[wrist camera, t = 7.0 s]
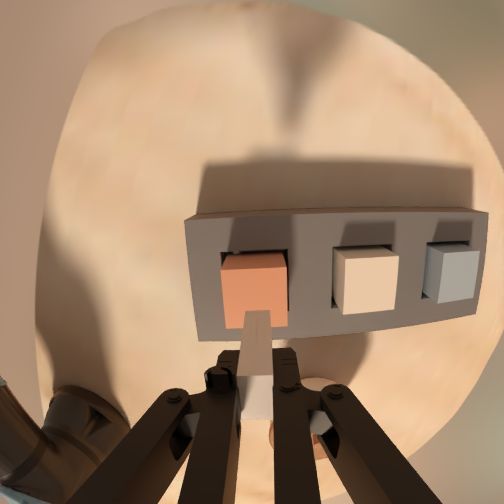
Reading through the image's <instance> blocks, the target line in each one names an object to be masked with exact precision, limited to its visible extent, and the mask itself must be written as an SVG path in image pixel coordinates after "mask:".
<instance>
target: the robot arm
mask: <svg viewBox="0 0 504 504" xmlns="http://www.w3.org/2000/svg"><path fill="white" fill-rule="evenodd" d="M204 377H205V383H206V388H207V389H206V391H204V392H202V393H198V394H193V395H189V394H188V392H187V391H186V390H183V389H180V388H173V389H169V390H166V391H164V392H163V393H162V394H161V395H160V396H159V397H158V398H157V400H156V401H155V402H154V403H153V404H152V405H151V407H150V408H149V409H148V410H147V411H146V412H145V414H144V415H143V416H142V417H141V418H140V419H139V421H138V422H137V423H136V424H135V425H134V426H133V428H132V429H131V430H130V429H129V426H128V424H127V423H126V421H125V420H124V418H123V417H122V416H121V415H120V414H119V412H118V411H117V410H116V409H115V408H113V407H112V406H111V405H110V404H109V403H107V402H106V401H105V400H103V399H102V398H100V397H99V396H97V395H96V394H94V393H92V392H90V391H88V390H85V389H83V388H79V387H75V386H64V387H62V388H60V389H59V390H58V391H57V392H56V393H55V394H54V395H53V397H52V398H51V400H50V403H49V409H48V411H47V414H46V418H45V421H44V425H43V427H42V428H41V429H40V428H39V426H38V425H37V424H36V423H35V422H34V420H33V419H32V418H31V417H30V416H29V415H28V413H27V412H26V411H25V410H24V408H23V407H22V406H21V404H20V403H19V402H18V400H17V399H16V397H15V396H14V395H13V393H12V392H11V390H10V389H9V387H8V386H7V385H6V384H7V382H6V381H5V380H3V379H2V377H1V376H0V495H1V496H2V497H3V498H4V499H5V500H6V501H7V502H9V503H10V504H158V502H159V501H160V499H161V498H162V496H163V495H164V493H165V492H166V490H167V488H168V487H169V485H170V484H171V482H172V481H173V479H174V477H175V476H176V474H177V473H178V471H179V469H180V468H181V466H182V465H183V463H184V461H185V460H186V458H187V456H188V455H189V453H190V455H189V459H188V463H187V467H186V471H185V476H184V480H183V484H182V488H181V492H180V496H179V500H178V504H234V503H235V492H236V481H237V470H238V459H239V448H240V436H241V422H240V420H273V437H274V497H275V504H321V499H320V492H319V485H318V478H317V471H316V464H315V457H314V451H313V444H312V437H311V433H312V434H316V435H317V438H318V440H319V442H320V444H321V445H322V447H323V449H324V451H325V453H326V455H327V456H328V458H329V460H330V462H331V464H332V465H333V467H334V469H335V471H336V472H337V474H338V476H339V478H340V480H341V481H342V483H343V485H344V487H345V488H346V490H347V492H348V494H349V495H350V497H351V499H352V501H353V502H354V504H442V503H441V501H440V500H439V499H438V498H437V496H436V495H435V494H434V493H433V492H432V491H431V489H430V488H429V487H428V485H427V484H426V483H425V482H424V481H423V479H422V478H421V477H420V476H419V475H418V473H417V472H416V471H415V469H414V468H413V467H412V466H411V465H410V463H409V462H408V461H407V460H406V458H405V457H404V456H403V455H402V453H401V452H400V451H399V450H398V449H397V447H396V446H395V445H394V444H393V442H392V441H391V440H390V439H389V437H388V436H387V435H386V434H385V432H384V431H383V430H382V429H381V427H380V426H379V425H378V424H377V422H376V421H375V420H374V419H373V417H372V416H371V415H370V414H369V412H368V411H367V410H366V409H365V407H364V406H363V405H362V404H361V402H360V401H359V400H358V399H357V397H356V396H355V395H354V394H353V392H352V391H351V390H350V389H349V388H348V387H347V386H344V385H341V384H331V385H328V386H325V387H324V388H323V389H322V390H321V391H314V390H310V389H308V388H306V387H304V386H303V385H302V383H301V381H300V375H299V369H298V364H297V358H296V352H295V351H294V350H293V349H292V348H272V338H271V317H270V310H259V311H245V317H244V325H243V332H242V339H241V347H240V350H224V351H223V352H222V353H221V354H220V355H219V356H218V360H217V364H216V366H214V367H211V368H209V369H208V370H206V372H205V373H204Z"/></svg>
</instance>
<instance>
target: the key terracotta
mask: <svg viewBox="0 0 504 504" xmlns="http://www.w3.org/2000/svg"><path fill="white" fill-rule="evenodd" d="M221 282H222V293H223V303H224V314H225V324H226V329H234V328H243V325H244V317H245V311H259V310H270V317H271V327H284V326H288V318H287V267H286V264H285V260H284V257H283V254H282V252H271V253H249V254H228V255H227V256H226V259H225V261H224V263H223V266H222V268H221Z"/></svg>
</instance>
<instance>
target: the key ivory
mask: <svg viewBox="0 0 504 504" xmlns="http://www.w3.org/2000/svg"><path fill="white" fill-rule="evenodd" d="M398 264H399V256H398V255H396V254H395V253H393V252H391V251H390V250H388V249H386V248H384V247H383V246H381V245H358V246H336V247H332V297H333V299H334V300H335V302H336V304H337V305H338V307H339V309H340V310H341V312H342V314H343V315H345V314H356V313H366V312H375V311H384V310H393V309H394V306H395V297H396V287H397V276H398Z"/></svg>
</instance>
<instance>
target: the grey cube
mask: <svg viewBox="0 0 504 504" xmlns="http://www.w3.org/2000/svg"><path fill="white" fill-rule="evenodd" d="M479 253H480V251H479V250H477V249H474V248H472V247H469V246H466V245H464V244H461V243H459V242H456V241H445V242H427V244H426V258H425V269H424V279H423V287H422V292H423V293H424V294H426V295H427V296H428V297H430V298H431V299H432V300H434V301H435V302H436V303H437V304H438V303H444V302H451V301H457V300H463V299H469V298H473V295H474V290H475V283H476V277H477V270H478V262H479Z"/></svg>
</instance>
